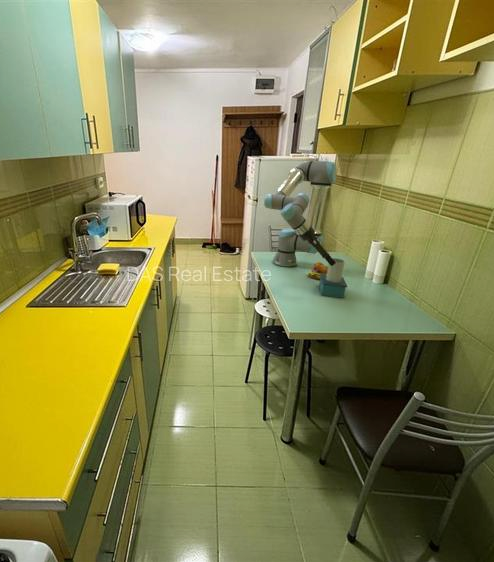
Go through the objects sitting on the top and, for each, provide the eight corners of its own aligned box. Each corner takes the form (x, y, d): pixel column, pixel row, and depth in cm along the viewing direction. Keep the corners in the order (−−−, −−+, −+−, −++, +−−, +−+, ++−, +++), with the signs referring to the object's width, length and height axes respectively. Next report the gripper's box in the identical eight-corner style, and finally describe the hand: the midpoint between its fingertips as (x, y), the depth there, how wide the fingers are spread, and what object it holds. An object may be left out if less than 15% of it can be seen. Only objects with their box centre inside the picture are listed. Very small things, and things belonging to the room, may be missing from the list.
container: (318, 285, 172) (320, 274, 169) (340, 288, 169) (342, 276, 166) (320, 295, 160) (323, 283, 157) (344, 298, 158) (347, 286, 155)
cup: (324, 276, 166) (328, 257, 161) (339, 278, 164) (343, 259, 160) (326, 281, 159) (330, 262, 155) (341, 283, 158) (346, 263, 153)
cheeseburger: (306, 272, 190) (313, 258, 185) (323, 278, 188) (330, 264, 183) (306, 277, 181) (313, 263, 176) (323, 284, 179) (331, 269, 174)
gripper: (292, 229, 165) (315, 256, 170) (304, 242, 142) (330, 273, 148) (304, 220, 162) (327, 247, 168) (318, 231, 140) (344, 263, 145)
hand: (329, 259), depth 158 cm, fingers open, 13 cm apart
